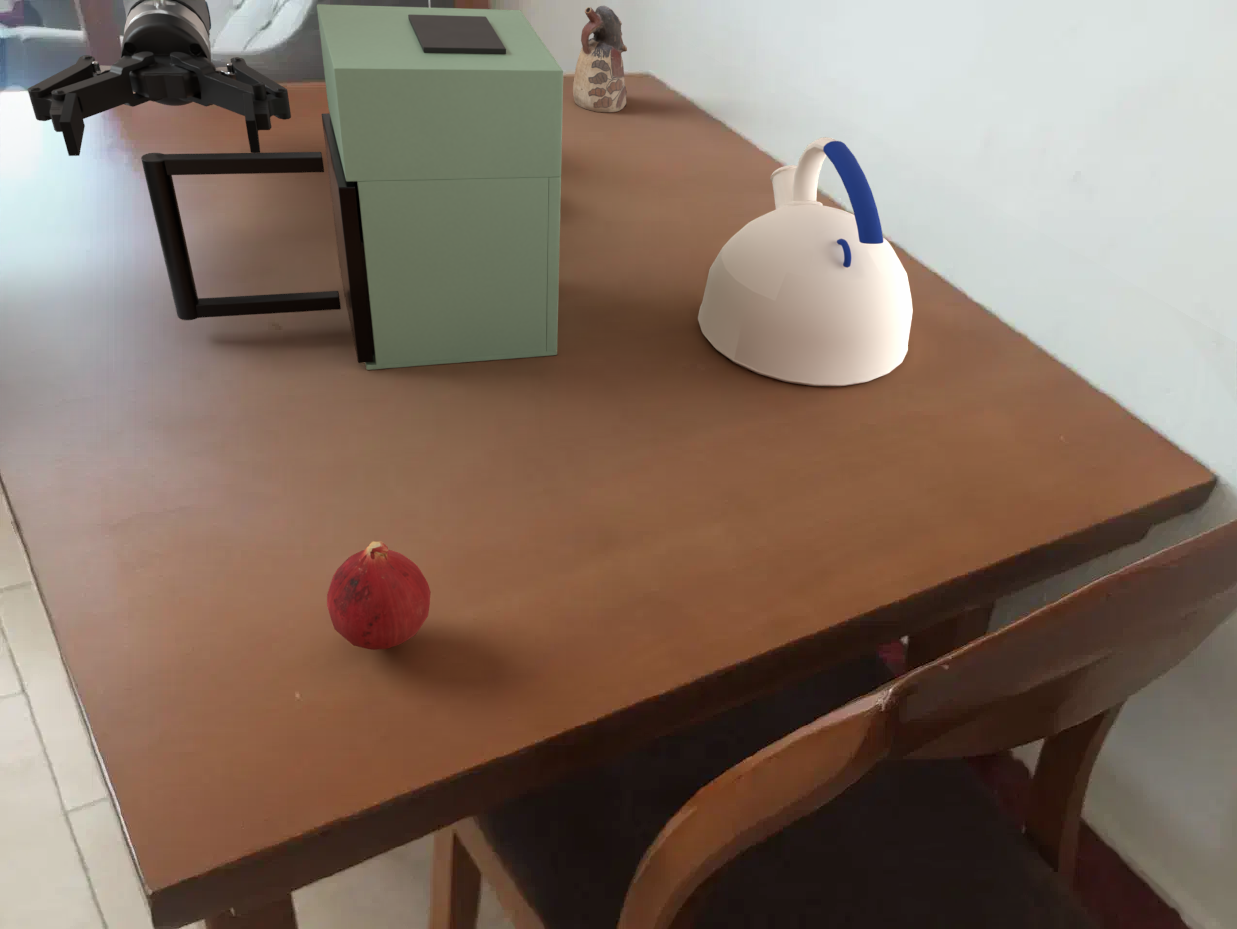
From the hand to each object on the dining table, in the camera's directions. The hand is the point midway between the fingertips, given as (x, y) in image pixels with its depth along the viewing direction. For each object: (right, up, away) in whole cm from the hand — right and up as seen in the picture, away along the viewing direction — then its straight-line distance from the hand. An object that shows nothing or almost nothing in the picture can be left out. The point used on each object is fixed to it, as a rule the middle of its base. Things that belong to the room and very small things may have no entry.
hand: (163, 138), depth 89 cm
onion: (+25, -40, -22) cm, 52 cm away
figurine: (+29, +26, +56) cm, 68 cm away
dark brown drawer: (+14, -14, +6) cm, 20 cm away
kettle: (+53, -13, +15) cm, 57 cm away
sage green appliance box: (+21, -13, +9) cm, 26 cm away
